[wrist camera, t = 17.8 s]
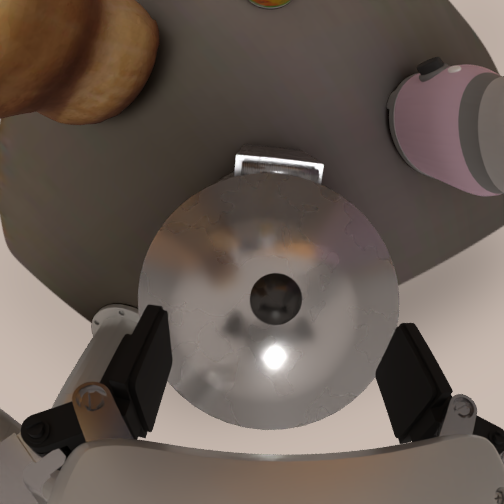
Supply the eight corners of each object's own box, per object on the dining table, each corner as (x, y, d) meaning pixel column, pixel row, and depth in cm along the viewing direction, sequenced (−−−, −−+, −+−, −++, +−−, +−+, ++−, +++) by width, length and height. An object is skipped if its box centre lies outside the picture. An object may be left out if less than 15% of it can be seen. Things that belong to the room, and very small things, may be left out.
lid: (383, 419, 14) (399, 424, 12) (132, 405, 14) (120, 411, 12) (378, 184, 19) (389, 170, 18) (173, 162, 19) (168, 145, 17)
